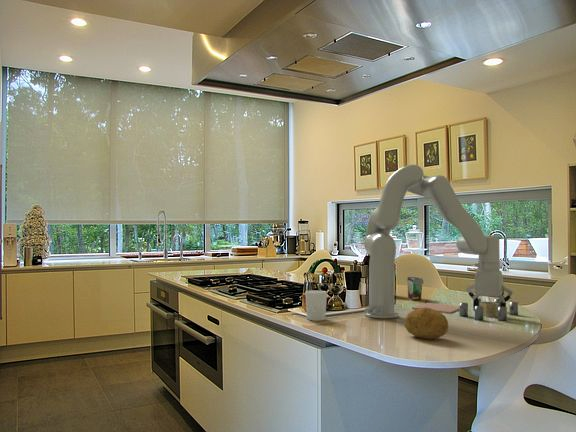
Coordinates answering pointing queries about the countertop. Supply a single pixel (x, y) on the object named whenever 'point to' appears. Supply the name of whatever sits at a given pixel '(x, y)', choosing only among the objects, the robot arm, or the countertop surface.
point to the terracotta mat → (439, 307)
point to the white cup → (316, 305)
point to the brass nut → (490, 309)
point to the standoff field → (480, 310)
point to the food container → (414, 288)
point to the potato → (426, 323)
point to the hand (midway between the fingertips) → (489, 311)
